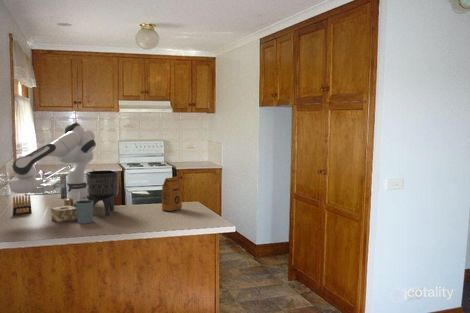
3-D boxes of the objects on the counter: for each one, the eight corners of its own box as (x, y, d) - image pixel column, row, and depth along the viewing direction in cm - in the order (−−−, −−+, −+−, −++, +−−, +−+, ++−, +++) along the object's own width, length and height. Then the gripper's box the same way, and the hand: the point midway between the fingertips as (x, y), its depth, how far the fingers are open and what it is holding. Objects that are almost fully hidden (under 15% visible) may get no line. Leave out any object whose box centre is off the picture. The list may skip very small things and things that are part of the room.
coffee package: (184, 209, 285) (183, 176, 283) (170, 212, 275) (170, 178, 273) (173, 207, 291) (173, 175, 289) (159, 210, 281) (159, 177, 279)
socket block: (69, 216, 263) (69, 205, 262) (77, 219, 255) (77, 208, 254) (51, 219, 255) (51, 208, 254) (58, 222, 247) (58, 211, 246)
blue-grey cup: (83, 224, 244) (82, 203, 243) (72, 222, 249) (71, 202, 248) (97, 221, 252) (97, 201, 251) (86, 218, 258) (85, 199, 256)
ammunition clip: (13, 215, 265) (12, 196, 264) (12, 215, 267) (11, 196, 266) (31, 213, 272) (31, 194, 271) (30, 212, 273) (30, 194, 272)
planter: (102, 209, 285) (101, 169, 283) (125, 211, 277) (125, 171, 274) (80, 214, 268) (79, 173, 265) (104, 218, 259) (103, 175, 257)
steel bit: (65, 197, 256) (64, 174, 255) (67, 198, 254) (67, 175, 252) (59, 198, 254) (58, 175, 253) (61, 199, 251) (61, 175, 250)
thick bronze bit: (71, 213, 271) (71, 198, 270) (75, 215, 267) (74, 199, 266) (62, 215, 267) (62, 199, 266) (66, 216, 263) (65, 200, 262)
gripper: (34, 182, 240) (60, 182, 243) (44, 177, 260) (68, 177, 263) (35, 194, 241) (61, 193, 243) (44, 188, 261) (68, 187, 263)
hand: (65, 185), depth 253 cm, fingers closed on steel bit, 3 cm apart
